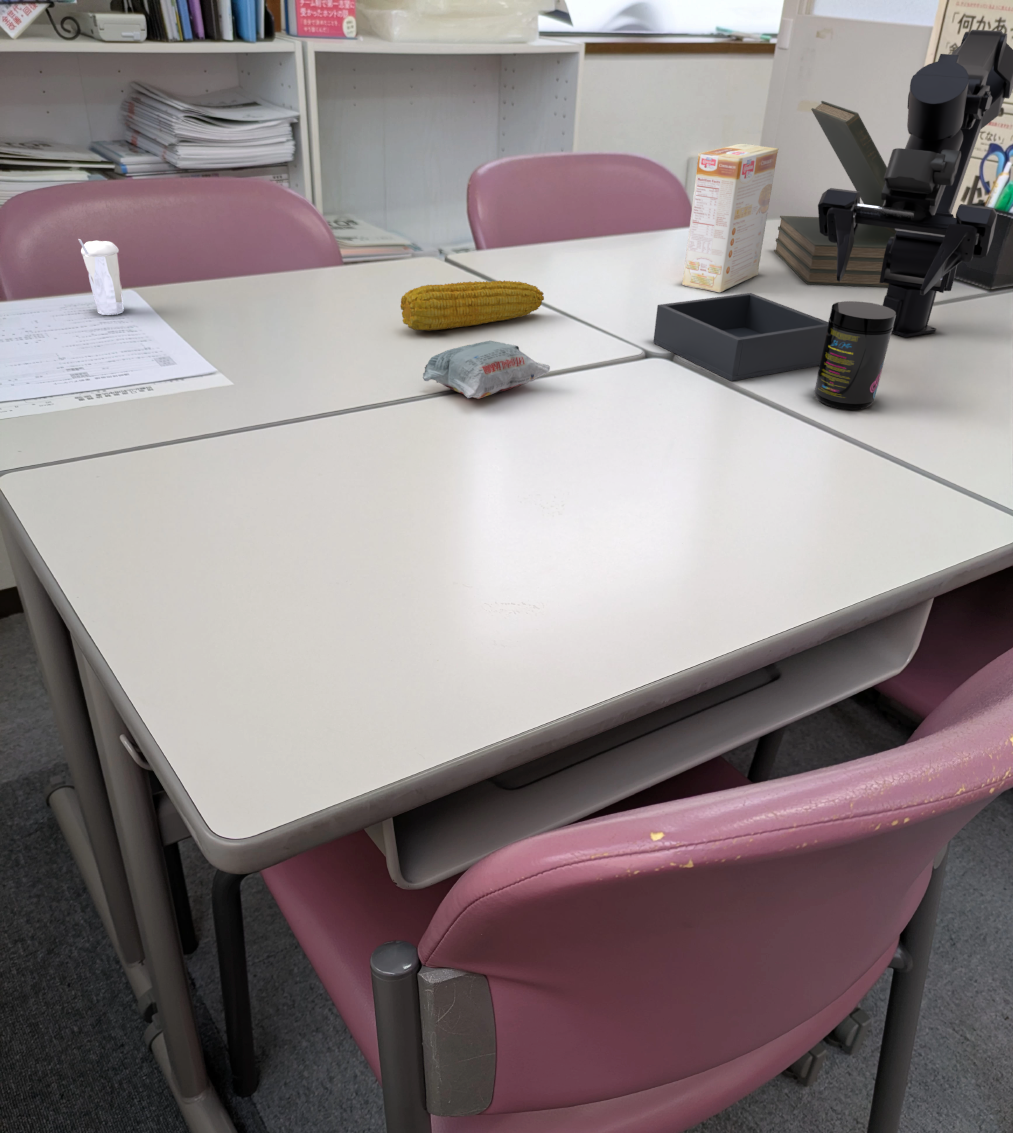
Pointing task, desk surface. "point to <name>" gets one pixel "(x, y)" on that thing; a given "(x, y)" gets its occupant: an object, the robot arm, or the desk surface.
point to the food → (468, 304)
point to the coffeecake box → (728, 215)
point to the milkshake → (104, 275)
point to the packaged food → (483, 368)
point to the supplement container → (853, 354)
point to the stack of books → (819, 255)
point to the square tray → (740, 335)
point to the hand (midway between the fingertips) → (879, 285)
